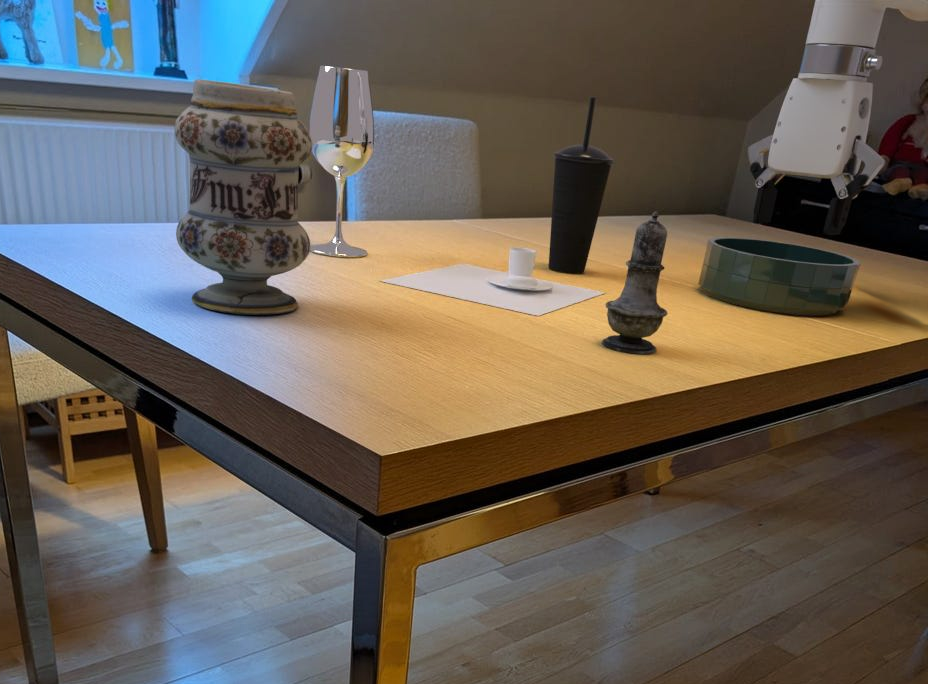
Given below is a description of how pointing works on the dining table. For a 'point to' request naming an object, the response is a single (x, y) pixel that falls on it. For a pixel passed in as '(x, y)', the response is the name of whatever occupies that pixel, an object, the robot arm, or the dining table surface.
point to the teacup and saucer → (499, 285)
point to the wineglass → (341, 138)
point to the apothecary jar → (243, 193)
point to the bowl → (777, 276)
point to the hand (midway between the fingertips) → (795, 228)
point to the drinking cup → (577, 201)
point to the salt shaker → (639, 293)
